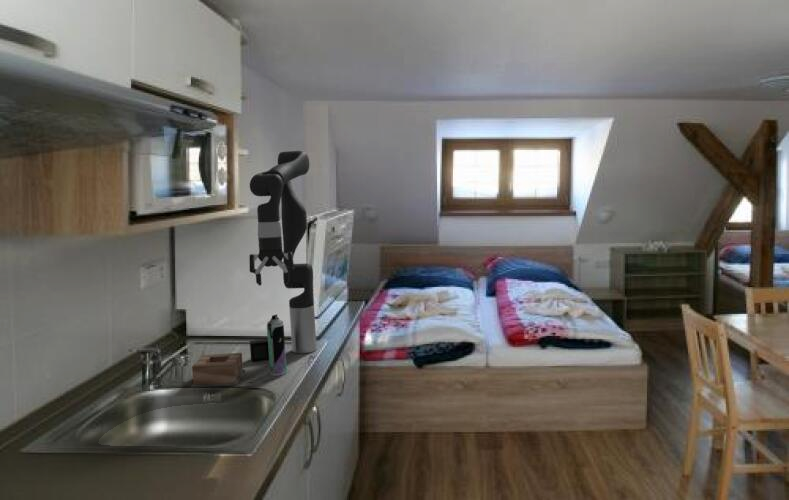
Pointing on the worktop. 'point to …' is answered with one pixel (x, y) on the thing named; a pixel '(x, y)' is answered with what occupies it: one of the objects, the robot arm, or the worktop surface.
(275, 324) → the spray can
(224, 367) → the socket block
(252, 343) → the digital camera
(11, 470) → the worktop surface
